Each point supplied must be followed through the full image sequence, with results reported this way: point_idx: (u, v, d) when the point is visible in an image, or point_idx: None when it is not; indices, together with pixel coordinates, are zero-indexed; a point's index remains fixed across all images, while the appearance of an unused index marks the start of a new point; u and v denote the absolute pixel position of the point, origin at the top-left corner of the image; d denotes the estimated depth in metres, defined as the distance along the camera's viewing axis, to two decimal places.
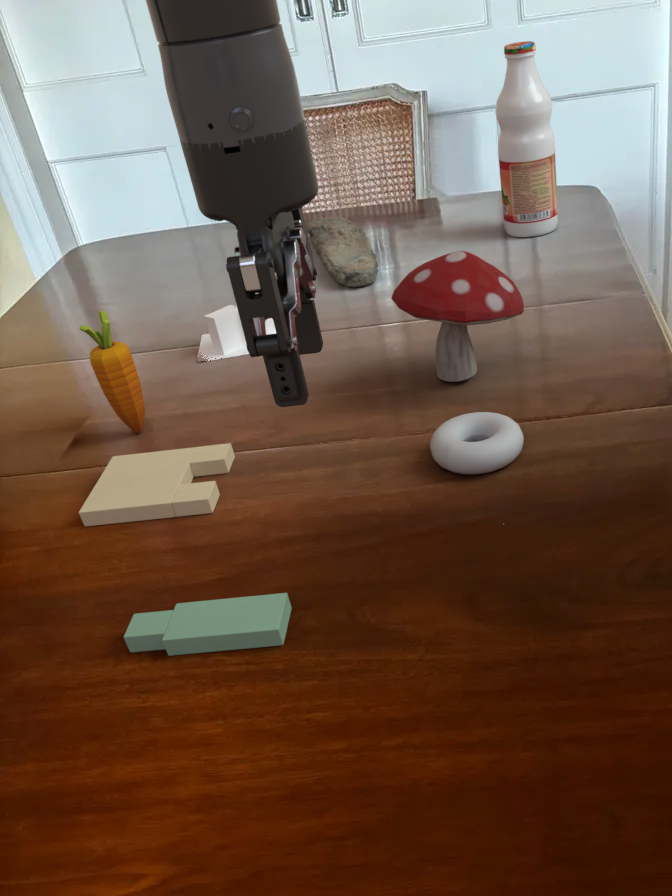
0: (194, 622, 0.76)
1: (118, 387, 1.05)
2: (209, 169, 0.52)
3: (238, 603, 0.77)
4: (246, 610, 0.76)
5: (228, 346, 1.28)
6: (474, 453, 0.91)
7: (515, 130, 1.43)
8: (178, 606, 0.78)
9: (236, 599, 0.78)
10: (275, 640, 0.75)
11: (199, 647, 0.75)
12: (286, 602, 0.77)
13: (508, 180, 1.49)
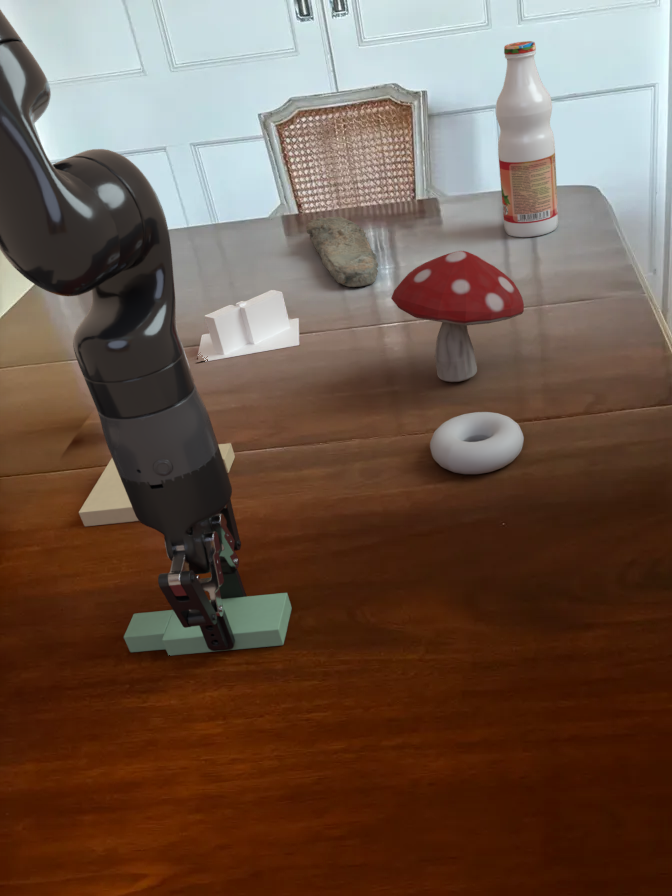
0: None
1: None
2: (140, 497, 0.65)
3: (238, 603, 0.77)
4: (246, 610, 0.76)
5: (228, 345, 1.28)
6: (474, 453, 0.91)
7: (515, 130, 1.43)
8: None
9: (236, 599, 0.78)
10: (275, 640, 0.75)
11: (199, 647, 0.75)
12: (286, 602, 0.77)
13: (508, 180, 1.49)
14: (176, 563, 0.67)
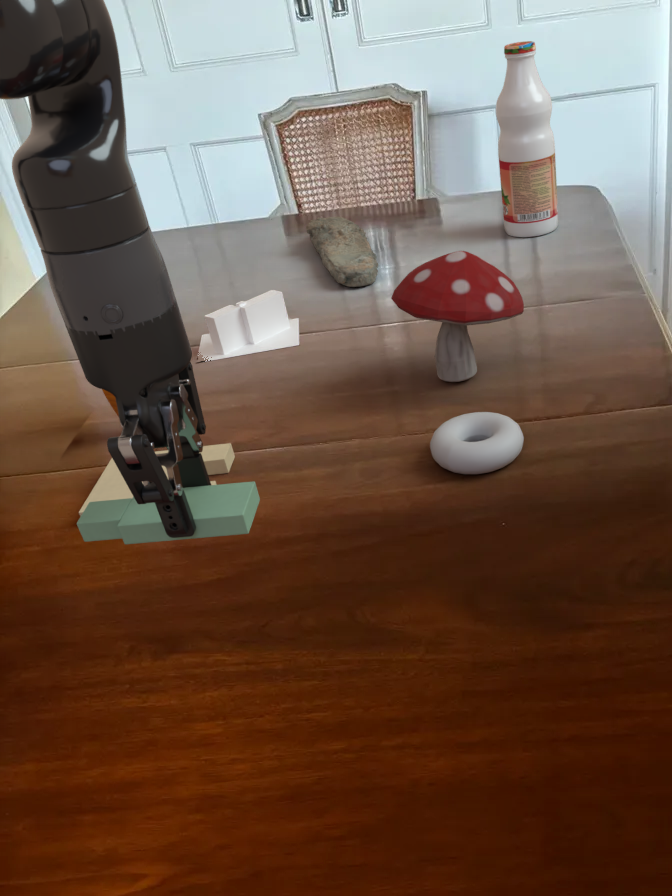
0: (153, 509, 0.70)
1: None
2: (88, 350, 0.59)
3: (202, 491, 0.72)
4: (210, 497, 0.71)
5: (228, 345, 1.28)
6: (474, 453, 0.91)
7: (515, 130, 1.43)
8: None
9: (200, 487, 0.72)
10: (240, 527, 0.69)
11: (157, 534, 0.69)
12: (253, 491, 0.72)
13: (508, 180, 1.49)
14: (128, 427, 0.61)
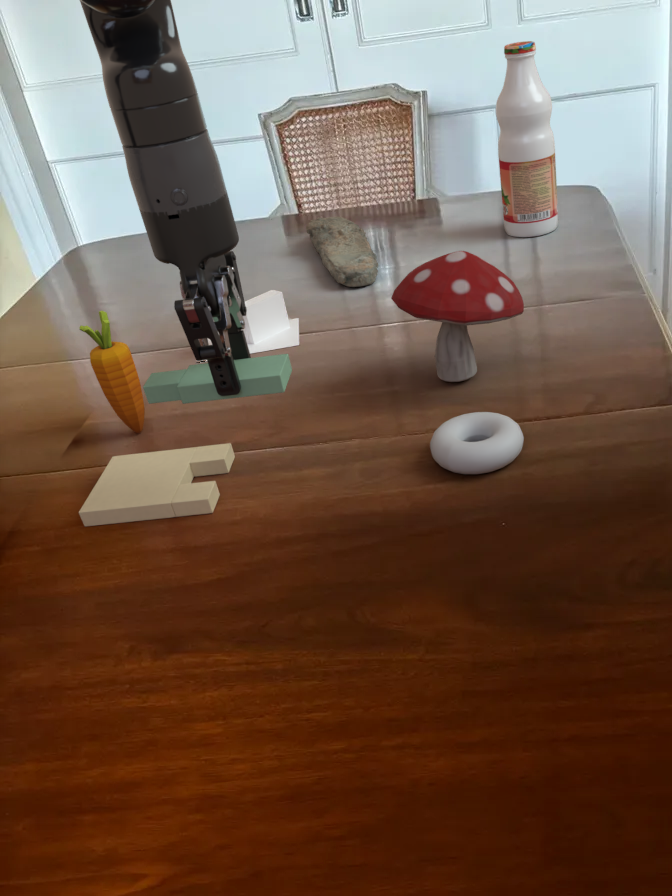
0: (205, 374, 0.86)
1: (118, 387, 1.05)
2: (159, 229, 0.75)
3: (244, 362, 0.87)
4: (251, 365, 0.86)
5: None
6: (474, 453, 0.91)
7: (515, 130, 1.43)
8: (191, 366, 0.88)
9: (242, 359, 0.87)
10: (277, 387, 0.84)
11: (210, 394, 0.85)
12: (287, 360, 0.87)
13: (508, 180, 1.49)
14: (190, 292, 0.76)
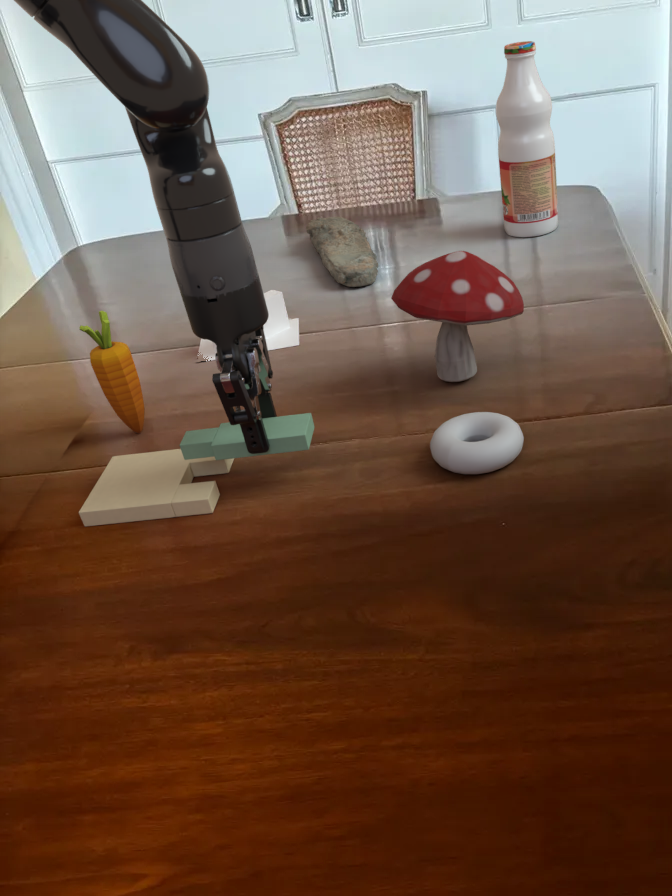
0: (236, 433, 0.94)
1: (118, 387, 1.05)
2: (198, 310, 0.83)
3: (271, 420, 0.95)
4: (278, 424, 0.94)
5: None
6: (474, 453, 0.91)
7: (515, 130, 1.43)
8: (222, 424, 0.96)
9: (269, 418, 0.96)
10: (302, 445, 0.93)
11: (241, 451, 0.93)
12: (310, 419, 0.95)
13: (508, 180, 1.49)
14: (226, 366, 0.85)
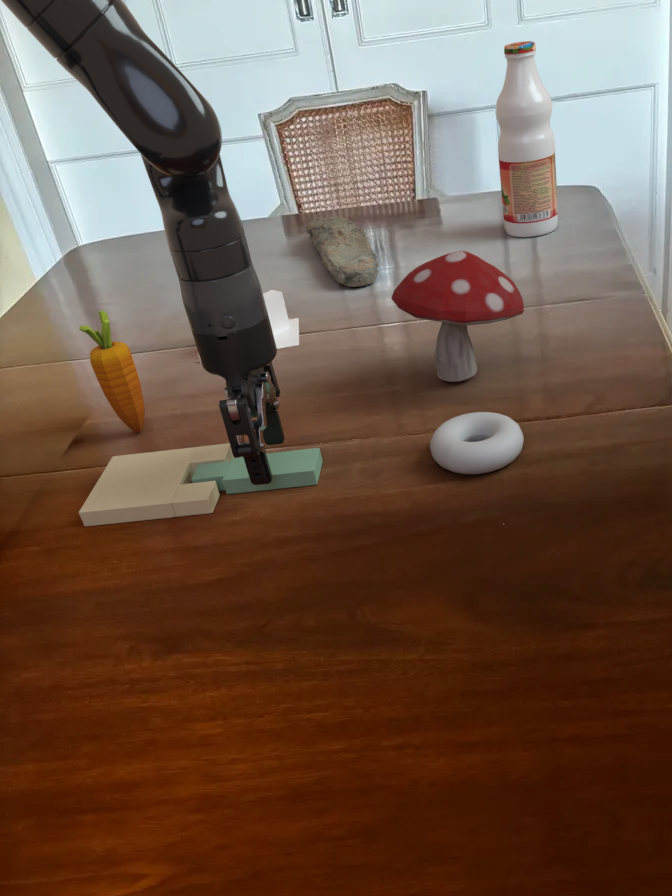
0: (246, 468, 0.97)
1: (118, 387, 1.05)
2: (209, 347, 0.85)
3: (281, 455, 0.98)
4: (287, 459, 0.97)
5: None
6: (474, 453, 0.91)
7: (515, 130, 1.43)
8: (233, 459, 0.99)
9: (279, 453, 0.98)
10: (311, 480, 0.95)
11: (251, 486, 0.96)
12: (319, 454, 0.98)
13: (508, 180, 1.49)
14: (234, 395, 0.86)
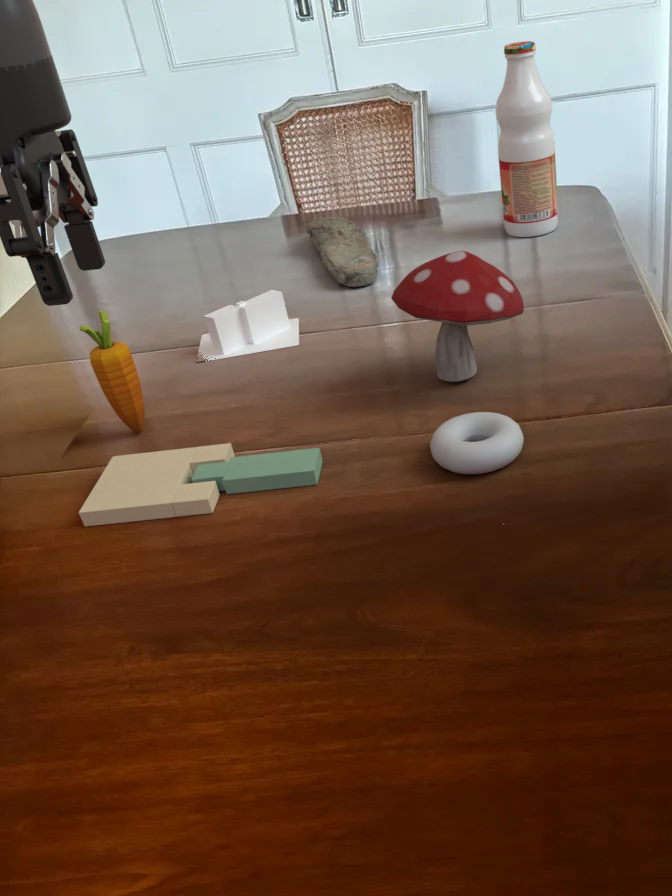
0: (246, 468, 0.97)
1: (118, 387, 1.05)
2: None
3: (281, 455, 0.98)
4: (287, 459, 0.97)
5: (227, 345, 1.28)
6: (474, 453, 0.91)
7: (515, 130, 1.43)
8: (233, 459, 0.99)
9: (279, 453, 0.98)
10: (311, 480, 0.95)
11: (251, 486, 0.96)
12: (319, 454, 0.98)
13: (508, 180, 1.49)
14: (2, 165, 0.64)
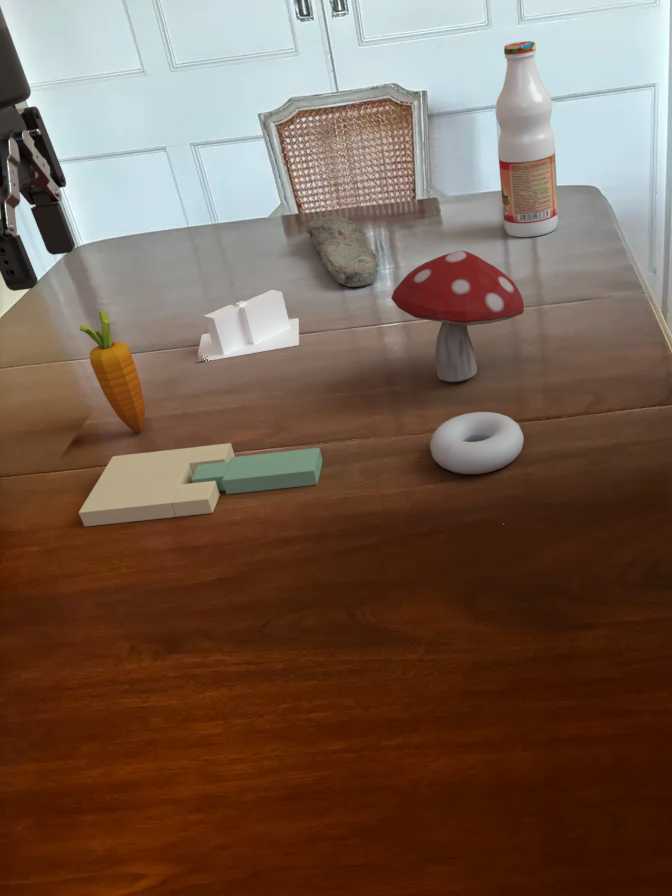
0: (246, 468, 0.97)
1: (118, 387, 1.05)
2: None
3: (281, 455, 0.98)
4: (287, 459, 0.97)
5: (227, 345, 1.28)
6: (474, 453, 0.91)
7: (515, 130, 1.43)
8: (233, 459, 0.99)
9: (279, 453, 0.98)
10: (311, 480, 0.95)
11: (251, 486, 0.96)
12: (319, 454, 0.98)
13: (508, 180, 1.49)
14: None
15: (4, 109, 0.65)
